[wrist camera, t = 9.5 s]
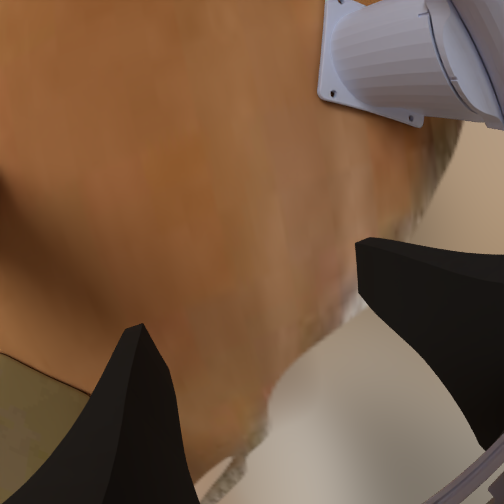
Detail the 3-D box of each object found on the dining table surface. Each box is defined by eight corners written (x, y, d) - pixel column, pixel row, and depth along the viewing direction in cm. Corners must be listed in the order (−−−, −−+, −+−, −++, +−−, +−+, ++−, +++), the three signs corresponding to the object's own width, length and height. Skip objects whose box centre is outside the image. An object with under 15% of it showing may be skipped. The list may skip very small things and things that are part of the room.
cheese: (53, 485, 24) (57, 585, 11) (-16, 456, 20) (-27, 555, 6) (100, 394, 21) (108, 573, 8) (-8, 342, 16) (-64, 513, 3)
